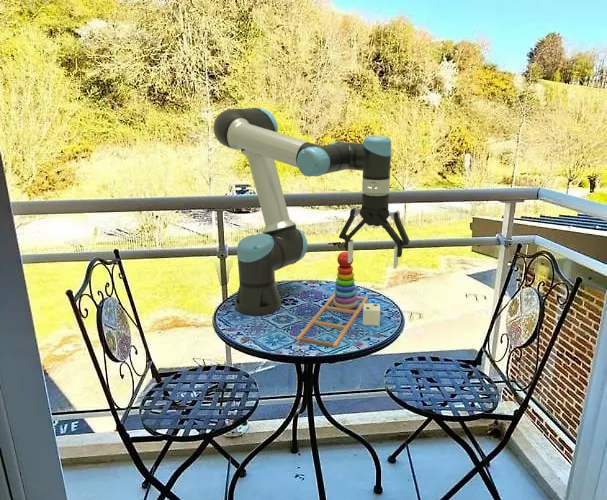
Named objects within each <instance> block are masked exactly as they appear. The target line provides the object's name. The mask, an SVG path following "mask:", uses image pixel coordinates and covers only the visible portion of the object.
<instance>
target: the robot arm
mask: <svg viewBox="0 0 607 500" xmlns="http://www.w3.org/2000/svg"><path fill="white" fill-rule="evenodd" d="M278 130H279V128H278V123H277V120H276V117H275V116H274V114H273V113H272V112H270V111H269V110H267V109H265V108H259V107H250V108H228V109H225V110H222V111H221V112H220V113H219V114H218V115H217V117H215V120H214V122H213V133H214V136H215V138H216V140H217V141H218V142H219V143H220V144H222V146H225V147H227V148H229V149H232V150H236V151H240V153H241V154H242V155H244V156H245V157H246V158H247V160H248V165H249V167H250V172H251V176H252V179H253V183H254V187H255V191H256V194H257V200H258V202H259V207H260V210H261V213H262V216H263V221H264V225H265V226H264V228H263V230H262V233H256V234H251V235H247V236H245V237H243V238H242V239H241V240H240V241H239V242H238V244H237V252H236V257H237V266H238V268H237V269H238V278H239V281H238V282H239V286H238V290H237V293H236V297H235V310H237V311H238V313H241V314H244V315H248V316H261V315H269V314H272V313H274V312H276V311H277V310H279V309H280V308H281V307H282V298H281V295H280V293H279V290H278V288H277V284H276V279H275V278H276V276H275V275H276V273H275V271H278V270H280V269H283V268H285V267H288V266H291V265H294V264H296V263H297V262H299V261H300V260H302V259H303V258H304V257H305V255H306V253H307V251H308V239H307V237H306V234H305V233H304V232H303V231H302V230H301V229H299V228H297V225H296V224H297V223H295V221H292V220H291V219H290V215H289V212H288V206H287V204H286V199H285V195H284V192H283V188H282V183H281V180H280V176H279V172H278V170H277V169H278V168H277V165H276V161H277V162H280V163H283V164H286V165H289V166H292V167H294V168H298V170H299V171H300V172H301V174H302V175H304V176H306V177H320V176H323V175H326V174H331V173H337V172H341V171H346V170H352V171H353V170H355V171H362V182H361V183H362V185H361V188H362V189H361V190H362V195H361V209H358V208H357V207H356V206H355V207H352V208H351V209H350V212H349V217H348V219H347V221H345V222H346V223H345V224H344V226H343V228H342V230H341V232H340V234H339V236H338V238H339V239H340V240H341V239H342V240H344V250H345V251H344V252H348V263H351V262H352V260H353V261H354V239H352V237H354V236H355V235H356V234H357V233H358V231H359V230H360V229H361V228H362V227H364V225H365V224H366V225H368V226H374V227H382V228H383V230H385V232H386V233H387V234H388V236H390V238H391V239H392V241H393V243H395V246H394V247H393V248H394V251H393V252H394V253H393V269H395V270H396V269H397V268H398V266H399V258H401V257H402V256H403V249H404V248H403V247H404V246H408V245H409V243H410V239H409V237H408V234H407V232H406V230H405V227H404V225H403V223H402V219H401V217H400V213H401V212H400V211H399V210H396V211H390V210H389V201H390V200H389V199H390V195H389V192H390V186H391V185H390V184H391V182H390V181H391V178H390V177H391V176H390V175H391V161H392V155H393V154H392V139H391V138H390V137H388V136H382V135H381V136H374V135H373V136H366V137H365V138H364V139H363V143H356V142H347V141H345V142H344V141H332V142H330V143H329V144H325V145H320V144H316V143H312V142H309V141H308V140H307V141H306V140H302V139H301V138H300V139H299V138H296V137H293V136H291V135H287V134H283V133H280V132H279V131H278ZM358 215H360V217H361V218H362V220H361V221H360V222H359V223H358V224H357V225H356V226H355V227H353V230H351V231H350V232H349V234H347V232H348V231H349V229H350V227H351V225H352V223H353V222H354V220H355V218H356V217H357V216H358ZM389 217H390V218H391V219H392V220H393V221H394V224H395V227H396V229H397V231H398V233H397V232H396V231H395V229H394V228H393V227H392V225H391V224H390V222H389V221H388V218H389ZM398 234H399V235H398Z"/></svg>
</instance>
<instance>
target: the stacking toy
mask: <svg viewBox="0 0 607 500" xmlns="http://www.w3.org/2000/svg"><path fill="white" fill-rule="evenodd" d="M336 261H337V263H338V266H337V273H336V276H337V277H336V278H335V279H336V280H335V285H334V286H335V288H334V293H335V295H334V298H335V299H334V300H333V301H332V303H333V305H334V306H335V307H336V308H342V309H349V310H352V309H354V308H355V307H356V306H357V305H358V300H356V299H357V296H358V295H357V294H356V293H357V292H356V291H357V290H356V284H355V281H356V280H355V278H354V277H355V273H354V272H353V271H354V267H353V266H352V264H353V263H354V259H353V260H352V262H351V263H348V251H342V252H340V253H339V254H338V255H337V260H336ZM334 306H333V307H334Z"/></svg>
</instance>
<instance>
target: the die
mask: <svg viewBox="0 0 607 500" xmlns="http://www.w3.org/2000/svg"><path fill="white" fill-rule="evenodd" d="M380 304H381V303H372V302H371V303H370V302H369V303H367V302H366V303H363V308H362V309H363V310H362V325H363V326H381V325H380V324H381V323H380V322H381V305H380Z"/></svg>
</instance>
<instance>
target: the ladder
mask: <svg viewBox="0 0 607 500" xmlns="http://www.w3.org/2000/svg"><path fill="white" fill-rule="evenodd" d="M334 295H335V292H333V294H332V295H331V296H330V298H329V299H328V300H327V301H326V302H325V303H324V305H322V307H321V308H320V310H319V311H318V312H317V313H316V314H315V315H314V316H313V317H312V319H311V320H310V321H309V322H308V323H307V325H306V326H305V327H304V328H303V330H302V331H301V332H300V333H299V334H298V335H297V336H296V338H295V341H298V342H302V343H308V344H312V345H318V346H323V347H329V348H333V349H337V348H338V346H339V344H341V342H342V340H343V339H344V337H345V335H346V334H347V333H348V331H349V330H350V328H351V327H352V326H353V324H354V322H355V320H356V319H357V317H358V316H359V315H360V313H361V311H363V310H362V309H363V303H367V302H368V300H369V298H368V297H365V296H358V295H357V299H356V300H357V301H361V302H360V304H359V305H358V307H357V309H356V310H354V309H342V308H337V307H336V306H335V307H334V306H330V305H331V304H332V303H333V301H334V299H335V298H334ZM326 310H327V311H333V312H339V313H344V314H352V316H351V318H350V319H349V320H348V322H347V323H346V325H343V324H338V323H337V324H336V323H332V322H325V321H320V320H318V319H319V318H320V317H321V315H322V314H323V313H324V312H325V311H326ZM313 325H317V326H321V327H327V328H333V329H339V330H342V331H340V332H341V333H339V336H338V337H337V338H336V340H335V341H334V342H329V341H324V340H319V339H313V338H309V337H308V338H307V337H305V335H306V334H307V333H308V331H309V330H310V329H311V328H312V326H313Z"/></svg>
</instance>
